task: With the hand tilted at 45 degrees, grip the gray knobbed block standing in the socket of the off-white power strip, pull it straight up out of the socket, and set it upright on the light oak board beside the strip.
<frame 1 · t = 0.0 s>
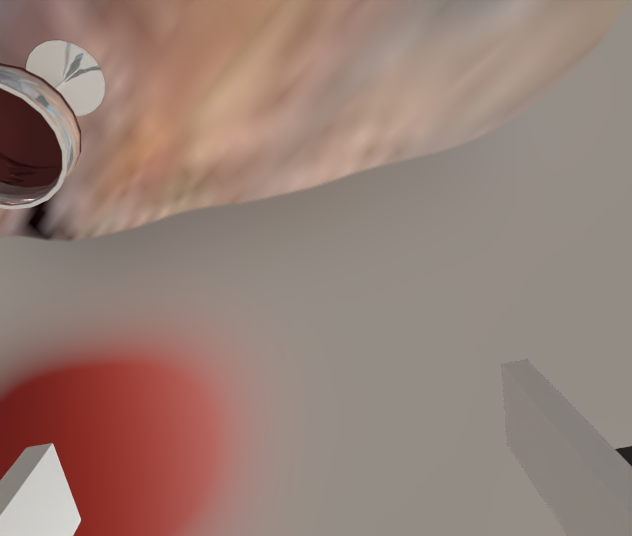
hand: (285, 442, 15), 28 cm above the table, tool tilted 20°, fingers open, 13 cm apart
wineglass: (66, 78, 35), on the table
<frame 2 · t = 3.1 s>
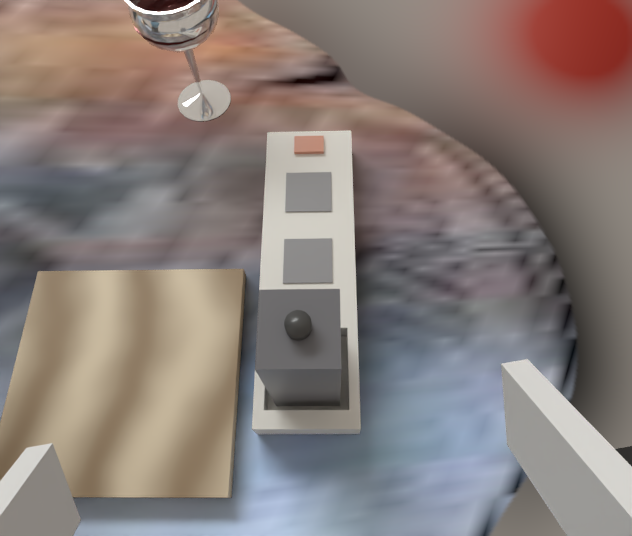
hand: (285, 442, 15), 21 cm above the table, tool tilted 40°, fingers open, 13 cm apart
oak board: (129, 377, 38), on the table
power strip: (309, 274, 41), on the table
gray knobbed block: (308, 374, 37), resting on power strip
wineglass: (204, 101, 49), on the table
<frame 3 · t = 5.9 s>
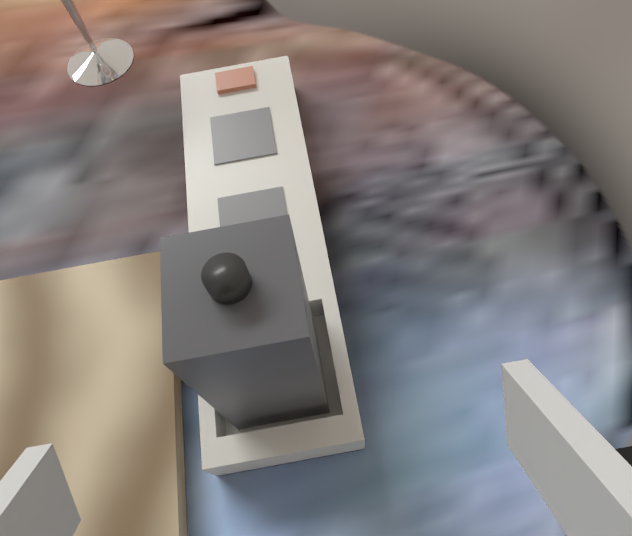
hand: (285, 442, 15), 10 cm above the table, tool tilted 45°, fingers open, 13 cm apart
oak board: (24, 426, 26), on the table
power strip: (261, 244, 30), on the table
gray knobbed block: (278, 376, 26), resting on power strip
wineglass: (101, 63, 38), on the table
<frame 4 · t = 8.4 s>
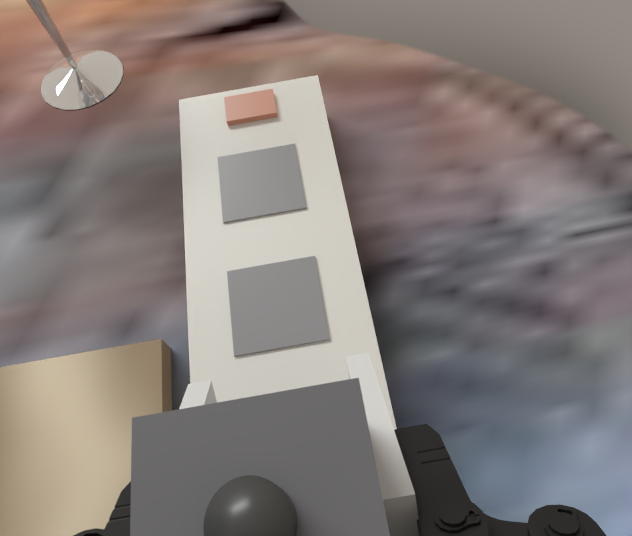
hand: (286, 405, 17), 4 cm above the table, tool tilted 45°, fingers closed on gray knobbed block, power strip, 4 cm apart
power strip: (285, 328, 22), on the table
gray knobbed block: (312, 534, 18), point 1 cm above the table, touching gripper, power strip
wineglass: (83, 81, 31), on the table
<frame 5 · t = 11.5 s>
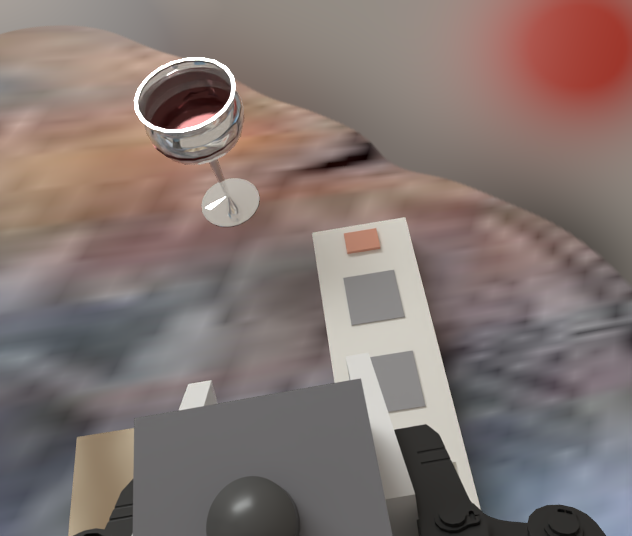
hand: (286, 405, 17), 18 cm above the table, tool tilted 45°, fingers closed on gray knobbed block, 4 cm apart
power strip: (389, 392, 35), on the table
gray knobbed block: (313, 534, 18), point 15 cm above the table, touching gripper
wineglass: (230, 203, 44), on the table
when the fingers open (6 cm above the table, at t = 14.6 s): gray knobbed block drops 1 cm, resting on oak board.
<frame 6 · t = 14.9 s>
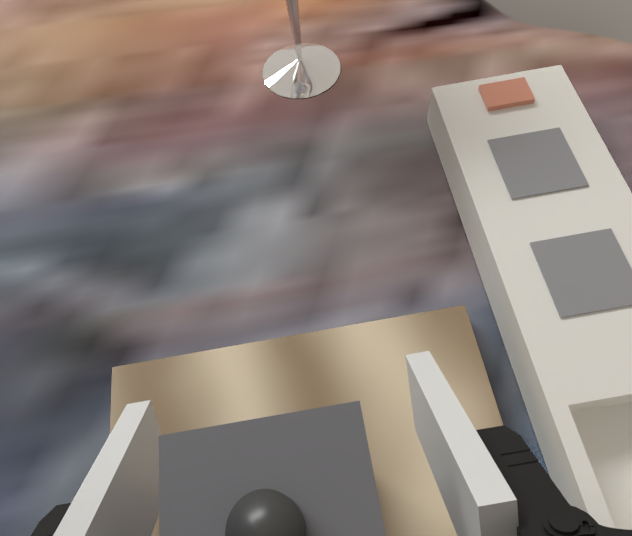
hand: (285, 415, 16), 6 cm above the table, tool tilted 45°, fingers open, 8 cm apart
oak board: (318, 535, 20), on the table
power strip: (566, 296, 24), on the table
wineglass: (301, 72, 33), on the table
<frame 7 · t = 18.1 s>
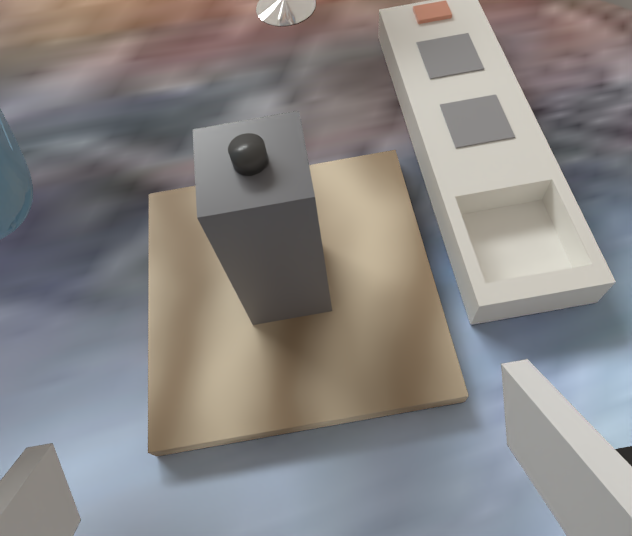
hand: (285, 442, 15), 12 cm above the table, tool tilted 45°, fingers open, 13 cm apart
oak board: (290, 290, 30), on the table
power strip: (469, 148, 34), on the table
gray knobbed block: (287, 282, 29), point 1 cm above the table, touching oak board
wineglass: (286, 8, 43), on the table
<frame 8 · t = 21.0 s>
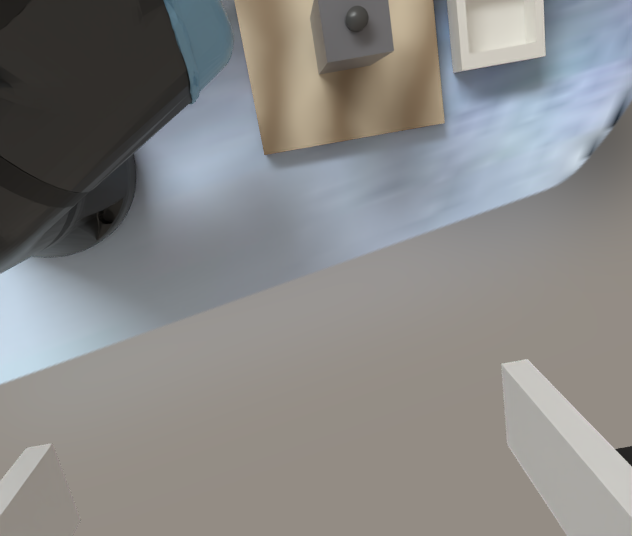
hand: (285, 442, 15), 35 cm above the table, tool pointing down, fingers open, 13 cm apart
oak board: (339, 43, 44), on the table
gray knobbed block: (340, 42, 43), point 1 cm above the table, touching oak board
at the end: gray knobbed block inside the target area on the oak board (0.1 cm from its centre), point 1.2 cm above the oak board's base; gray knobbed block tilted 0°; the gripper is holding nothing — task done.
